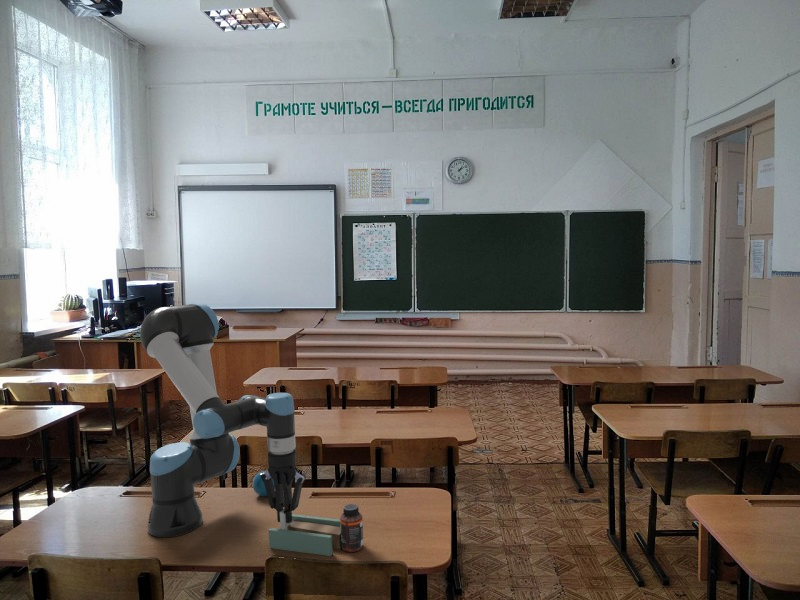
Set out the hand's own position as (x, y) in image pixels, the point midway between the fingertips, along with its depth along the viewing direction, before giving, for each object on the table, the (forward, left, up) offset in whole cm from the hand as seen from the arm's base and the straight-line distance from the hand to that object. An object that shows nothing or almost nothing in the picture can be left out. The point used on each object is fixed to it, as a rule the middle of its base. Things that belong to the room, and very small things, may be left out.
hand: (285, 533), depth 165 cm
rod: (+9, +2, -2) cm, 9 cm away
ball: (-21, +26, -2) cm, 34 cm away
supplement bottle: (+20, 0, -2) cm, 20 cm away
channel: (+7, 0, -2) cm, 7 cm away
